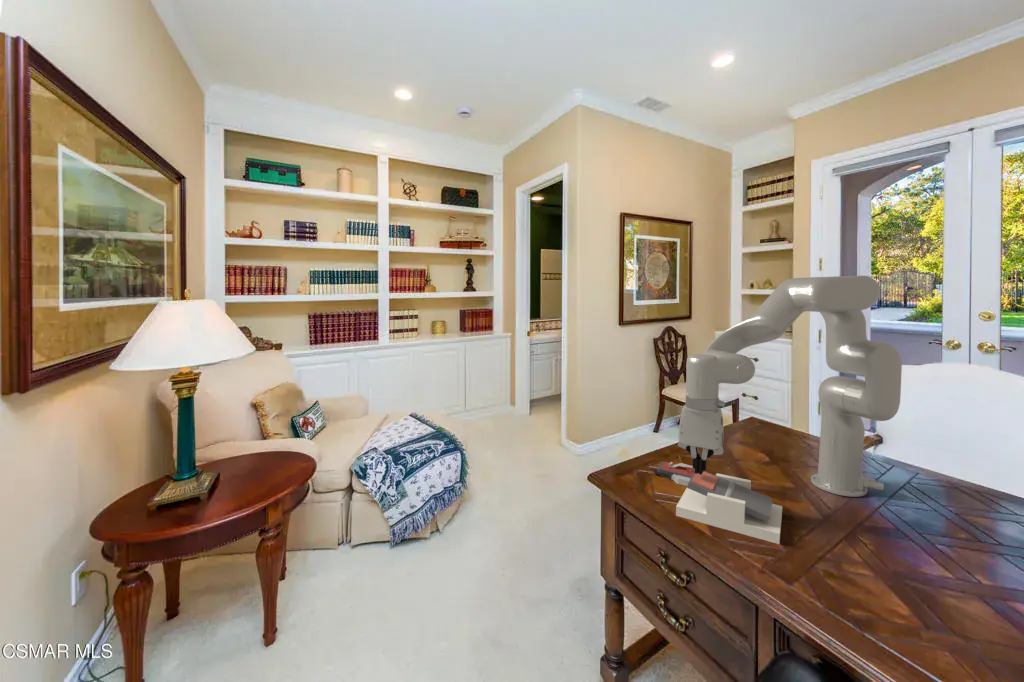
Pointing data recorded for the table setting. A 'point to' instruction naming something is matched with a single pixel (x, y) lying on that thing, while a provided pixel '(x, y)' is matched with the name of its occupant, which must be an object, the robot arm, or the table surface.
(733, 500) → the switch housing
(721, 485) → the rocker
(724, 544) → the table surface
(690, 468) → the walkie-talkie
